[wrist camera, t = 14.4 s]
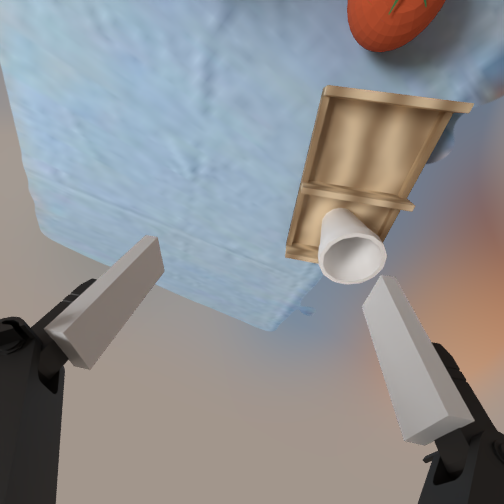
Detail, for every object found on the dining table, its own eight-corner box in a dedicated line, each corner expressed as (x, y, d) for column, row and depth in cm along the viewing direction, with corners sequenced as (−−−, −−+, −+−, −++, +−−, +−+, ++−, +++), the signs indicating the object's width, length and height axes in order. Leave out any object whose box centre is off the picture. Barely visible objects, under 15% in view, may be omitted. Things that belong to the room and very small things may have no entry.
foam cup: (303, 225, 45) (306, 262, 34) (338, 190, 40) (354, 220, 29) (337, 250, 47) (349, 293, 36) (374, 220, 42) (401, 259, 31)
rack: (286, 242, 49) (285, 257, 44) (323, 88, 33) (327, 85, 28) (367, 257, 48) (375, 274, 43) (446, 103, 32) (474, 103, 27)
